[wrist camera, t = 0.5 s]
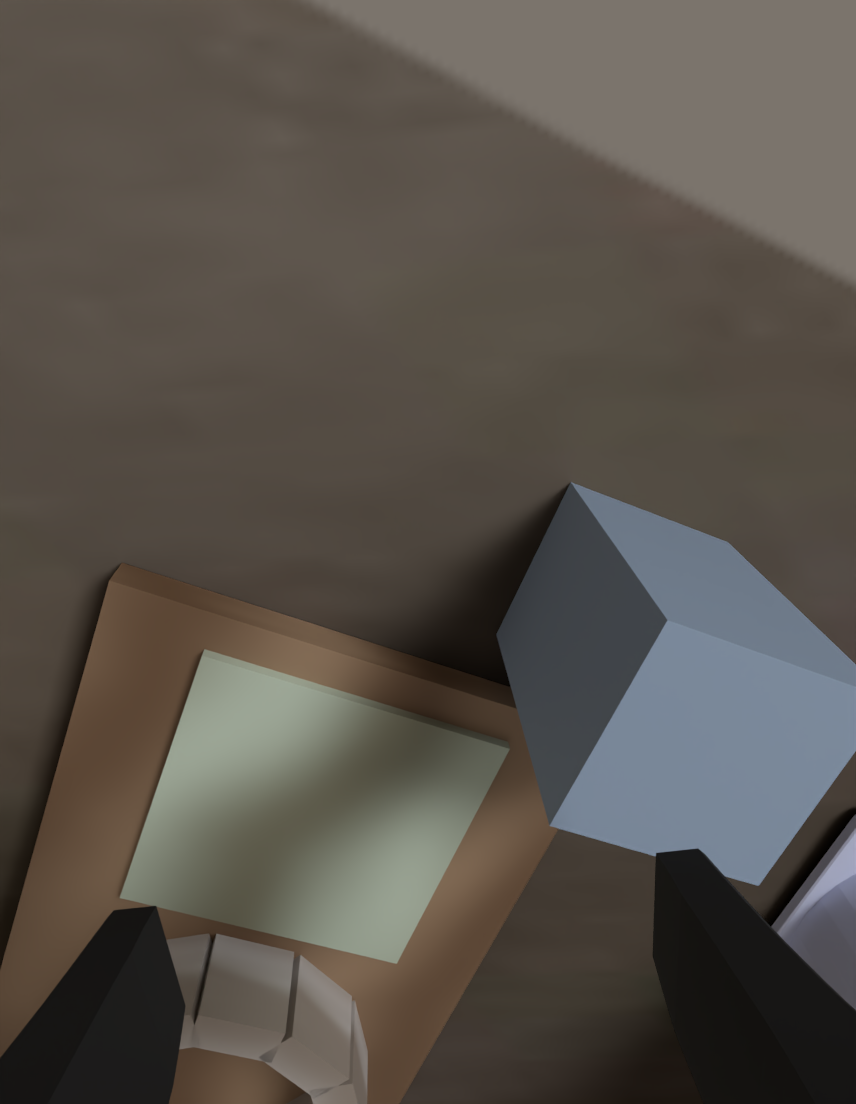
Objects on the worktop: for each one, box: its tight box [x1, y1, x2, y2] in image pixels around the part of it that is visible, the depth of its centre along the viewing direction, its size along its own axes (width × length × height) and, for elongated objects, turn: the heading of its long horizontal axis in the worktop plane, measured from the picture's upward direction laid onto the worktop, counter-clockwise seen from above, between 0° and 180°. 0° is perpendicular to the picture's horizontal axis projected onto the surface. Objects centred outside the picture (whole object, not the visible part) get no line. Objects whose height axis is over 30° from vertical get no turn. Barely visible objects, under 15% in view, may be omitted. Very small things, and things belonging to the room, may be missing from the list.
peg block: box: [496, 483, 856, 886], centre depth 17 cm, size 4×4×7 cm
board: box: [0, 563, 558, 1104], centre depth 22 cm, size 13×20×4 cm, turn 158°
